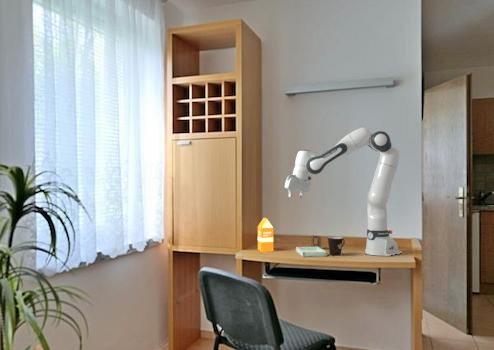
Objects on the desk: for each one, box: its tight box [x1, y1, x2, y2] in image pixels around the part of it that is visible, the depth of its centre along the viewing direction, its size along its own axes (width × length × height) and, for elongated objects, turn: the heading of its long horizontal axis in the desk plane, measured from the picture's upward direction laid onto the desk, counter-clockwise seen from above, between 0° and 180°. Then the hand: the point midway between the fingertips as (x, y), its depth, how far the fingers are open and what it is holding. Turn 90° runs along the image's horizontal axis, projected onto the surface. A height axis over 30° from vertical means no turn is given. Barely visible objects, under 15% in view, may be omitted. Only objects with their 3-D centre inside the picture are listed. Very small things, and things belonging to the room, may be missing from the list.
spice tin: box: [310, 235, 322, 249], centre depth 267 cm, size 5×5×8 cm
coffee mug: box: [327, 236, 346, 257], centre depth 247 cm, size 12×9×10 cm
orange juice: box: [257, 217, 274, 253], centre depth 262 cm, size 8×9×20 cm
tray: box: [295, 246, 328, 258], centre depth 251 cm, size 14×19×2 cm
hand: (294, 197), depth 262 cm, fingers open, 8 cm apart
